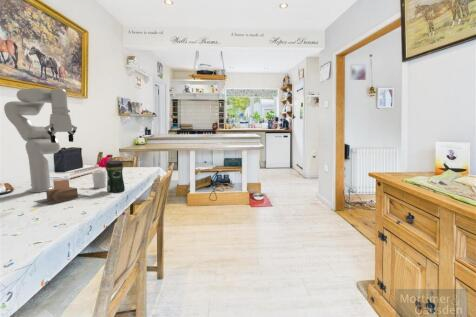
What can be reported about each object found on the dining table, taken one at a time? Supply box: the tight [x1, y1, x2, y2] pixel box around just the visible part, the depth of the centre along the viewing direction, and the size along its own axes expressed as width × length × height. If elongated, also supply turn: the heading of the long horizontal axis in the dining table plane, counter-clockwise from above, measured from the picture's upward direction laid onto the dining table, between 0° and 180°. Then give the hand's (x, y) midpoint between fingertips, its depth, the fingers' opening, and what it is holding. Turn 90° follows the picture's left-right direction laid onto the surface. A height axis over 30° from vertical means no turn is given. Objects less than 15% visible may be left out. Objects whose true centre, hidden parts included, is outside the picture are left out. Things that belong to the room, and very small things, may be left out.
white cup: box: [91, 170, 107, 189], centre depth 179 cm, size 8×8×10 cm
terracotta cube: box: [52, 178, 70, 191], centre depth 144 cm, size 5×5×5 cm
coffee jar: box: [105, 160, 125, 194], centre depth 166 cm, size 10×8×19 cm
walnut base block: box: [45, 186, 79, 202], centre depth 145 cm, size 10×10×5 cm
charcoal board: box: [33, 193, 89, 206], centre depth 145 cm, size 16×20×2 cm
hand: (62, 142), depth 156 cm, fingers open, 9 cm apart
